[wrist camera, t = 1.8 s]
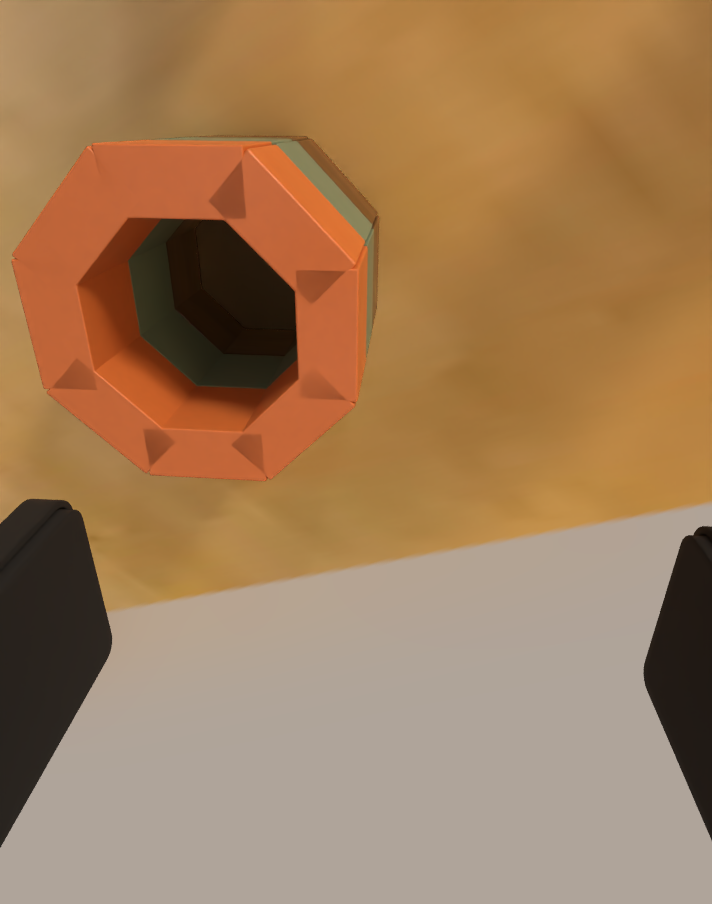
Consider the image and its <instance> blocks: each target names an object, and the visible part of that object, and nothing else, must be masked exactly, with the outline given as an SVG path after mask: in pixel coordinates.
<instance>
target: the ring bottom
mask: <svg viewBox="0 0 712 904" xmlns="http://www.w3.org/2000/svg"><path fill="white" fill-rule="evenodd" d="M199 138H282V139H292V141H297V142H298V143H299V144H300V145H301V146H302V147H303V149H304V150H305V151H306V152H307V153H308V154H309V155H310V156H311V157H312V158H313V160H314V161H315V162H316V163H317V164H318V165H319V166H320V167H321V168H322V170H323V171H324V172H325V173H326V174H327V175H328V176H329V177H330V178H331V179H332V181H333V182H334V183H335V184H336V185H337V186H338V187H339V188H340V189H341V191H342V192H343V193H344V194H345V195H346V196H347V197H348V198H349V199H350V200H351V202H352V203H353V204H354V205H355V206H356V207H357V208H358V209H359V210H360V212H361V213H362V214H363V215H364V216H365V217H366V218H367V219H368V220H369V221H370V223H371V224H372V228H371V229H374V261H373V307H372V328H373V323H374V318H375V313H376V309H377V283H378V243H379V216H376V215H377V211H376V210H375V209H374V208H373V207H372V206H371V204H370V203H369V202H368V201H367V200H366V199H365V198H364V197H363V196H362V194H361V193H360V192H359V191H358V190H357V189H356V188H355V187H354V185H353V184H352V183H351V182H350V181H349V180H348V179H347V178H346V177H345V175H344V174H343V173H342V172H341V171H340V170H339V169H338V168H337V166H336V165H335V164H334V163H333V162H332V161H331V160H330V159H329V158H328V156H327V155H326V154H325V153H324V152H323V151H322V150H321V149H320V147H319V146H318V145H317V144H316V143H315V142H314V141H313V140H312V139H308V137H298V136H199ZM201 221H202V220H195V219H185V220H184V221H183V222H182V223H181V225H180V226H179V227H178V228H177V229H176V231H175V232H174V233H173V234H172V236H171V237H170V238H169V239H168V240H167V242H166V248H167V255H168V263H169V270H170V278H171V285H172V293H173V300H174V307H175V310H176V311H177V312H178V313H180V314H181V315H182V316H183V317H184V318H185V319H186V320H187V321H188V322H189V323H190V324H191V325H193V326H194V327H195V328H196V329H197V330H198V331H199V332H200V333H201V334H202V335H203V336H204V337H206V338H207V339H208V340H209V341H210V342H211V343H212V344H213V345H214V346H215V347H216V348H217V349H219V350H220V351H221V352H222V353H223V354H239V355H266V356H285V355H286V354H287V353H288V352H289V351H290V350H291V349H292V348H293V347H294V346H295V345H296V344H297V337H296V330H270V329H244V328H243V327H242V326H241V325H240V324H239V323H238V322H237V321H236V320H235V319H234V318H233V317H232V316H231V315H230V314H229V313H228V312H226V311H225V310H224V309H223V308H222V307H221V306H220V305H219V304H218V303H217V302H216V301H215V300H214V299H213V298H212V297H211V296H210V295H209V294H208V293H206V292H205V291H204V290H203V289H202V287H201V278H200V269H199V260H198V251H197V242H196V233H195V228H196V227H197V225H198V224H199V223H200V222H201Z"/></svg>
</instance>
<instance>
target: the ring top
mask: <svg viewBox="0 0 712 904" xmlns="http://www.w3.org/2000/svg"><path fill="white" fill-rule="evenodd" d="M161 219H195V220H225V222H226V223H227V224H228V225H229V226H230V227H231V228H232V229H233V230H234V231H235V232H236V233H237V234H238V235H239V236H240V237H241V238H242V239H243V240H244V241H245V242H246V243H247V244H248V245H249V246H250V247H251V248H252V249H253V250H254V251H255V252H256V253H257V254H258V255H259V256H260V257H261V258H262V259H263V260H264V261H265V262H266V263H267V264H268V265H269V266H270V267H271V268H272V269H273V270H274V271H275V272H276V273H277V274H278V275H279V276H280V277H281V278H282V279H283V280H284V281H285V282H286V283H287V284H288V285H289V286H290V287H291V288H292V289H293V290H294V291H295V311H296V337H297V360H296V361H295V362H294V363H293V364H292V365H291V366H290V367H289V368H287V369H286V370H285V371H284V372H283V373H282V374H281V375H280V376H279V377H278V378H277V379H276V380H275V381H274V382H273V383H272V384H271V385H270V386H269V387H268V388H267V389H255V388H231V387H207V386H196V385H195V384H194V383H193V382H192V381H191V380H190V379H188V378H187V377H186V376H185V375H184V374H183V373H182V372H180V371H179V370H178V369H177V368H176V367H175V366H174V365H173V364H171V363H170V362H169V361H168V360H167V359H166V358H165V357H164V356H162V355H161V354H160V353H159V352H158V351H157V350H156V349H155V348H153V347H152V346H151V345H150V344H149V343H148V342H147V341H146V340H144V339H143V338H142V337H141V336H140V331H139V325H138V319H137V313H136V307H135V301H134V295H133V289H132V283H131V276H130V270H129V264H128V260H129V259H130V258H131V256H132V255H133V254H134V253H135V251H136V250H137V249H138V247H139V246H140V245H141V244H142V242H143V241H144V240H145V239H146V237H147V236H148V235H149V234H150V232H151V231H152V230H153V229H154V227H155V226H156V225H157V224H158V222H159V221H160V220H161ZM364 244H365V240H364V239H363V238H362V237H361V236H360V235H359V234H358V233H357V231H356V230H355V229H354V228H353V227H352V226H351V225H350V224H349V223H348V222H347V221H346V219H345V218H344V217H343V216H342V215H341V214H340V213H339V212H338V211H337V210H336V209H335V207H334V206H333V205H332V204H331V203H330V202H329V201H328V200H327V199H326V198H325V197H324V196H323V194H322V193H321V192H320V191H319V190H318V189H317V188H316V187H315V186H314V185H313V184H312V182H311V181H310V180H309V179H308V178H307V177H306V176H305V175H304V174H303V173H302V172H301V170H300V169H299V168H298V167H297V166H296V165H295V164H294V163H293V162H292V161H291V160H290V159H289V157H288V156H287V155H286V154H285V153H284V152H283V151H282V150H281V149H280V148H279V147H278V145H272V142H270V141H200V140H136V141H120V142H104V143H93V144H92V146H87V147H86V148H85V150H84V151H83V153H82V154H81V155H80V157H79V158H78V160H77V161H76V163H75V164H74V166H73V167H72V168H71V170H70V171H69V173H68V174H67V176H66V177H65V179H64V180H63V181H62V183H61V184H60V186H59V187H58V189H57V190H56V192H55V193H54V195H53V196H52V197H51V199H50V200H49V202H48V203H47V205H46V206H45V208H44V209H43V210H42V212H41V213H40V215H39V216H38V218H37V219H36V221H35V222H34V223H33V225H32V226H31V228H30V229H29V231H28V232H27V234H26V235H25V237H24V238H23V239H22V241H21V242H20V244H19V245H18V247H17V248H16V250H15V251H14V252H13V254H12V255H13V257H15V259H12V265H13V269H14V273H15V277H16V281H17V285H18V289H19V293H20V297H21V301H22V305H23V309H24V313H25V317H26V320H27V324H28V328H29V332H30V336H31V340H32V344H33V348H34V352H35V356H36V360H37V364H38V368H39V372H40V376H41V380H42V384H43V388H44V389H49V390H48V391H47V394H49V395H50V396H51V397H52V398H53V399H55V400H56V401H57V402H58V403H60V404H61V405H62V406H63V407H65V408H66V409H67V410H68V411H70V412H71V413H72V414H73V415H74V416H76V417H77V418H78V419H79V420H81V421H82V422H83V423H84V424H86V425H87V426H88V427H89V428H90V429H92V430H93V431H94V432H95V433H97V434H98V435H99V436H100V437H102V438H103V439H104V440H105V441H107V442H108V443H109V444H110V445H111V446H113V447H114V448H115V449H116V450H118V451H119V452H120V453H121V454H123V455H124V456H125V457H126V458H128V459H129V460H130V461H131V462H132V463H134V464H135V465H136V466H137V467H139V468H140V469H141V470H142V471H144V472H145V473H147V472H148V471H150V475H159V476H178V477H197V478H216V479H235V480H254V481H266V480H267V478H269V479H272V478H273V477H274V476H276V475H277V474H278V473H279V472H280V471H281V470H282V469H284V468H285V467H286V466H287V465H288V464H289V463H290V462H292V461H293V460H294V459H295V458H296V457H297V456H299V455H300V454H301V453H302V452H303V451H304V450H305V449H307V448H308V447H309V446H310V445H311V444H312V443H314V442H315V441H316V440H317V439H318V438H319V437H320V436H322V435H323V434H324V433H325V432H326V431H327V430H328V429H330V428H331V427H332V426H333V425H334V424H335V423H337V422H338V421H339V420H340V419H341V418H342V417H343V416H345V415H346V414H347V413H348V412H349V411H350V410H352V409H353V408H354V407H355V404H356V402H357V400H358V396H359V391H360V386H361V381H362V377H363V372H364V367H365V362H366V321H367V263H368V248H367V246H364Z"/></svg>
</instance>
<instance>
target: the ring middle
mask: <svg viewBox="0 0 712 904" xmlns="http://www.w3.org/2000/svg"><path fill="white" fill-rule="evenodd" d="M151 140H200V141H270V142H272V145H278V147H279V148H280V149H281V150H282V151H283V152H284V153H285V154H286V155H287V156H288V157H289V159H290V160H291V161H292V162H293V163H294V164H295V165H296V166H297V167H298V168H299V169H300V170H301V172H302V173H303V174H304V175H305V176H306V177H307V178H308V179H309V180H310V181H311V182H312V184H313V185H314V186H315V187H316V188H317V189H318V190H319V191H320V192H321V193H322V194H323V196H324V197H325V198H326V199H327V200H328V201H329V202H330V203H331V204H332V205H333V206H334V207H335V209H336V210H337V211H338V212H339V213H340V214H341V215H342V216H343V217H344V218H345V219H346V221H347V222H348V223H349V224H350V225H351V226H352V227H353V228H354V229H355V230H356V231H357V233H358V234H359V235H360V236H361V237H362V238H363V239H364V240H365V244H364V246H367V248H368V263H367V321H366V357H367V352H368V347H369V342H370V338H371V333H372V307H373V261H374V229H371V228H372V224H371V223H370V221H369V220H368V219H367V218H366V217H365V216H364V215H363V214H362V213H361V212H360V210H359V209H358V208H357V207H356V206H355V205H354V204H353V203H352V202H351V200H350V199H349V198H348V197H347V196H346V195H345V194H344V193H343V192H342V191H341V189H340V188H339V187H338V186H337V185H336V184H335V183H334V182H333V181H332V179H331V178H330V177H329V176H328V175H327V174H326V173H325V172H324V171H323V170H322V168H321V167H320V166H319V165H318V164H317V163H316V162H315V161H314V160H313V158H312V157H311V156H310V155H309V154H308V153H307V152H306V151H305V150H304V149H303V147H302V146H301V145H300V144H299V143H298V142H297V141H292V139H282V138H199V137H183V138H167V139H151ZM184 220H185V219H161V220H160V221H159V222H158V224H157V225H156V226H155V227H154V229H153V230H152V231H151V232H150V234H149V235H148V236H147V237H146V239H145V240H144V241H143V242H142V244H141V245H140V246H139V247H138V249H137V250H136V251H135V253H134V254H133V255H132V256H131V258H130V259H129V260H128V264H129V270H130V276H131V283H132V289H133V295H134V301H135V307H136V313H137V319H138V325H139V331H140V336H141V337H142V338H143V339H144V340H146V341H147V342H148V343H149V344H150V345H151V346H152V347H153V348H155V349H156V350H157V351H158V352H159V353H160V354H161V355H162V356H164V357H165V358H166V359H167V360H168V361H169V362H170V363H171V364H173V365H174V366H175V367H176V368H177V369H178V370H179V371H180V372H182V373H183V374H184V375H185V376H186V377H187V378H188V379H190V380H191V381H192V382H193V383H194V384H195V385H196V386H207V387H231V388H255V389H267V388H268V387H269V386H270V385H271V384H272V383H273V382H274V381H275V380H276V379H277V378H278V377H279V376H280V375H281V374H282V373H283V372H284V371H285V370H286V369H287V368H289V367H290V366H291V365H292V364H293V363H294V362H295V361H296V360H297V344H296V345H295V346H294V347H293V348H292V349H291V350H290V351H289V352H288V353H287V354H286V355H285V356H266V355H239V354H223V353H222V352H221V351H220V350H219V349H217V348H216V347H215V346H214V345H213V344H212V343H211V342H210V341H209V340H208V339H207V338H206V337H204V336H203V335H202V334H201V333H200V332H199V331H198V330H197V329H196V328H195V327H194V326H193V325H191V324H190V323H189V322H188V321H187V320H186V319H185V318H184V317H183V316H182V315H181V314H180V313H178V312H177V311H176V310H175V307H174V300H173V293H172V285H171V278H170V270H169V263H168V255H167V248H166V242H167V240H168V239H169V238H170V237H171V236H172V234H173V233H174V232H175V231H176V229H177V228H178V227H179V226H180V225H181V223H182V222H183V221H184Z"/></svg>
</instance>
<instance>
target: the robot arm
mask: <svg viewBox="0 0 712 904" xmlns="http://www.w3.org/2000/svg"><path fill="white" fill-rule="evenodd" d="M111 645H112V634H111V629H110V626H109V621H108V617H107V613H106V609H105V605H104V601H103V597H102V593H101V589H100V585H99V581H98V577H97V573H96V569H95V565H94V561H93V557H92V553H91V549H90V545H89V541H88V537H87V533H86V529H85V525H84V521H83V518H82V515H81V513H80V512H79V511H77V510H73V509H72V506H71V505H70V504H69V503H68V502H67V501H64V500H44V499H29V500H26V501H24V502H23V503H21V504H20V505H19V506H18V507H17V508H16V509H15V510H14V511H13V512H12V513H11V514H10V515H9V516H8V517H7V518H6V519H5V520H4V521H3V522H2V523H1V524H0V847H1V845H2V844H3V842H4V840H5V838H6V837H7V835H8V833H9V831H10V830H11V828H12V826H13V824H14V823H15V821H16V819H17V817H18V815H19V814H20V812H21V810H22V808H23V806H24V805H25V803H26V801H27V799H28V798H29V796H30V794H31V793H32V791H33V789H34V787H35V786H36V784H37V782H38V780H39V778H40V777H41V775H42V773H43V771H44V769H45V768H46V766H47V764H48V762H49V761H50V759H51V757H52V756H53V754H54V752H55V750H56V748H57V747H58V745H59V743H60V741H61V739H62V738H63V736H64V734H65V733H66V731H67V729H68V727H69V726H70V724H71V722H72V720H73V719H74V717H75V715H76V713H77V711H78V710H79V708H80V706H81V704H82V703H83V701H84V699H85V697H86V696H87V694H88V692H89V690H90V688H91V687H92V685H93V683H94V682H95V680H96V678H97V676H98V674H99V673H100V671H101V669H102V667H103V665H104V664H105V662H106V660H107V658H108V656H109V654H110V651H111ZM644 681H645V686H646V688H647V691H648V693H649V696H650V698H651V701H652V703H653V705H654V707H655V710H656V712H657V714H658V717H659V719H660V721H661V724H662V726H663V728H664V731H665V733H666V735H667V738H668V740H669V742H670V745H671V747H672V749H673V751H674V754H675V756H676V759H677V761H678V763H679V765H680V768H681V770H682V772H683V775H684V777H685V779H686V782H687V784H688V786H689V789H690V791H691V793H692V795H693V798H694V800H695V803H696V805H697V807H698V810H699V812H700V814H701V816H702V819H703V821H704V823H705V826H706V828H707V830H708V833H709V835H710V837H711V840H712V527H708V526H702V527H700V528H698V529H697V530H696V531H695V533H694V535H693V536H692V535H688V536H686V537H685V538H684V539H683V540H682V543H681V546H680V549H679V552H678V555H677V558H676V562H675V565H674V568H673V572H672V575H671V578H670V581H669V585H668V588H667V591H666V594H665V598H664V601H663V604H662V608H661V611H660V614H659V618H658V621H657V624H656V627H655V631H654V634H653V637H652V641H651V644H650V647H649V650H648V654H647V657H646V660H645V664H644Z"/></svg>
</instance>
